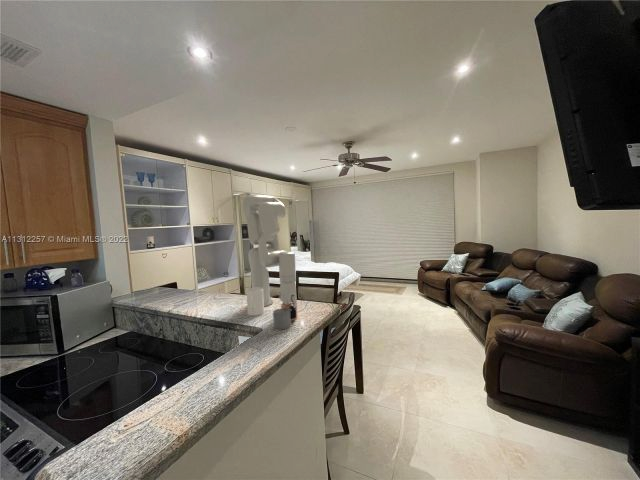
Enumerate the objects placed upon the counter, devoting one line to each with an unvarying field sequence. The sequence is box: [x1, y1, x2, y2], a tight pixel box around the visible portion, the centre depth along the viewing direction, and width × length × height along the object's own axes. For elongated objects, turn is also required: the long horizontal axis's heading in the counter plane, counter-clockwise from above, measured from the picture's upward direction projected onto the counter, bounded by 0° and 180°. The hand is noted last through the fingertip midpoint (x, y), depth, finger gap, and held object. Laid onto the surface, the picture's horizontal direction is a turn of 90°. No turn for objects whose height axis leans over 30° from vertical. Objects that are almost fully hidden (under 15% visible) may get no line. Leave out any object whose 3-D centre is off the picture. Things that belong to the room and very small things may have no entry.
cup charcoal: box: [272, 308, 292, 330], centre depth 109 cm, size 7×7×6 cm
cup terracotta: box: [280, 302, 298, 322], centre depth 118 cm, size 7×7×6 cm
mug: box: [246, 287, 266, 317], centre depth 125 cm, size 12×8×12 cm
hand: (289, 315), depth 118 cm, fingers closed on cup terracotta, 7 cm apart
